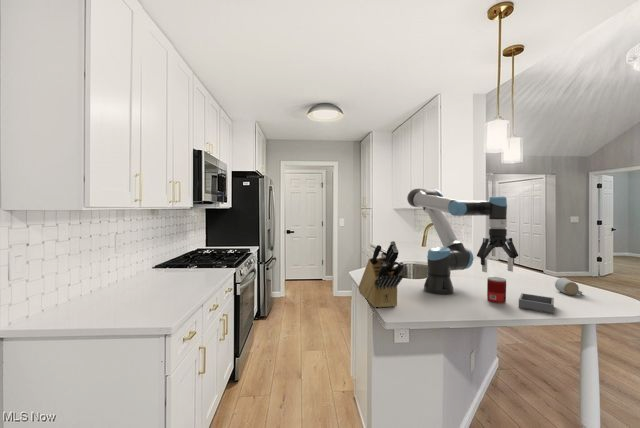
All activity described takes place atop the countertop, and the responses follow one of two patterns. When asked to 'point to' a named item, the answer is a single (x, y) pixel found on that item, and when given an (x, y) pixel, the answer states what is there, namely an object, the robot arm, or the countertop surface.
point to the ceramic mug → (567, 286)
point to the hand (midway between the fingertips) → (497, 271)
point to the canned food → (496, 289)
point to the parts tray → (536, 303)
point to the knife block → (382, 278)
